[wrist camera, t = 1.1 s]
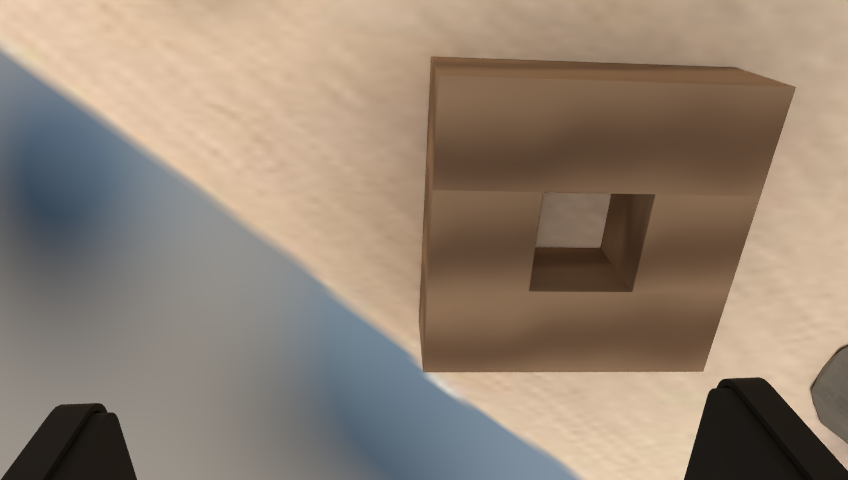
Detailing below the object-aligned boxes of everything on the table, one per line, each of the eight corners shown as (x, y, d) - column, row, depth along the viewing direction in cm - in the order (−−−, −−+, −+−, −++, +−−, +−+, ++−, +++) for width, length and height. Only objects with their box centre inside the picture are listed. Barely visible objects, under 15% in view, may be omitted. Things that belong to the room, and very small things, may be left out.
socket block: (431, 56, 29) (438, 75, 24) (735, 67, 30) (795, 87, 26) (418, 320, 36) (423, 372, 32) (665, 321, 37) (703, 371, 33)
